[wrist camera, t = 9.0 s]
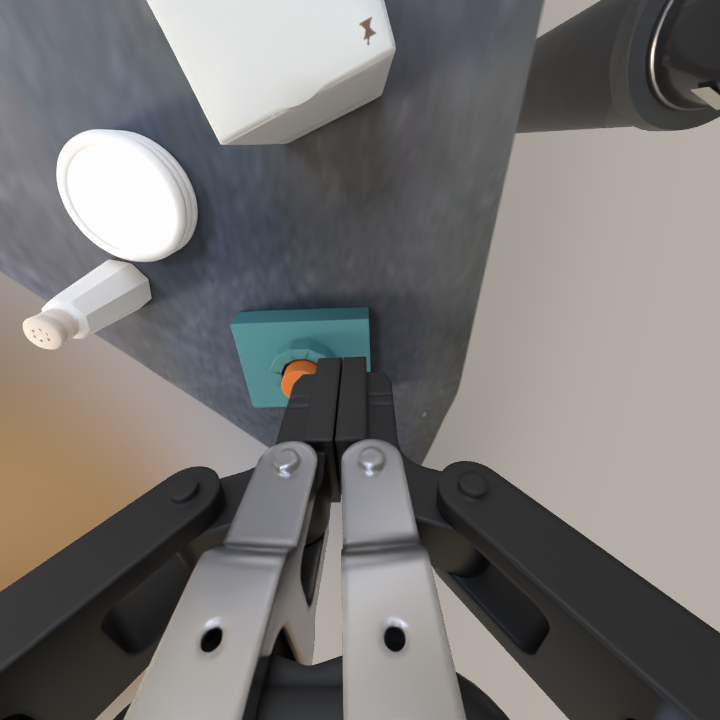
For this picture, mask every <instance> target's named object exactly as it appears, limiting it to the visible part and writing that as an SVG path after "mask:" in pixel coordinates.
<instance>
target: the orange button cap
mask: <svg viewBox="0 0 720 720" xmlns="http://www.w3.org/2000/svg"><path fill="white" fill-rule="evenodd" d="M316 368H317V365H316V364H315V363H313V362H311V361H308V360H297V361H294V362H292V363H290V364H289V365H288V366H287V368H286V370H285V373H284V376H283V379H282V382H281V388H282V391H283V393H284V394H285V395H286V396H287V397H288V398H290V394H291V390H292V387H293V384H294V383H295V382H296V381H297V380H298V379H299V378H300V377H301V376H302V375H303V374H315V373H316Z"/></svg>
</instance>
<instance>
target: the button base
mask: <svg viewBox="0 0 720 720" xmlns="http://www.w3.org/2000/svg"><path fill="white" fill-rule="evenodd" d="M230 325H231V329H232V332H233V336H234V339H235V343H236V347H237V350H238V354H239V357H240V361H241V365H242V368H243V372H244V376H245V379H246V383H247V386H248V390H249V394H250V397H251V401H252V404H253V407H286V406H287V404H288V401H289V398H288V397H287V396H286V395H285V394H284V393H283V391H282V388H281V382H282V379H283V376H284V373H285V370H286V368H287V366H288V365H289V364H290V363H292V362H294V361H297V360H308V361H311V362H313V363H315V364H316V365H317V364H318V359H319V358H338V357H342V360H343V358H344V357H364V356H366V361H367V372H371V367H370V336H369V308H368V307H351V308H325V309H299V310H272V311H246V312H239V313H238V314H237V315H236V317H235V318H234V320H233V321H232V322H231V324H230Z"/></svg>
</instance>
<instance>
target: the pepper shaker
mask: <svg viewBox="0 0 720 720" xmlns="http://www.w3.org/2000/svg"><path fill="white" fill-rule="evenodd" d="M151 299H152V297H151V291H150V285H149V279H148V278H147V277H145V276H144V275H143V274H142V273H141V272H140V271H139V270H138V269H137V268H136V267H135V266H134V265H133V264H132V263H128V262H122V261H116V260H110V259H109V260H107V261H106V262H104V263H103V264H101V265H100V266H99V267H97V268H96V269H94V270H93V271H91V272H90V273H88V274H87V275H85V276H84V277H82V278H81V279H80V280H78V281H77V282H75V283H74V284H72V285H71V286H69V287H68V288H66V289H65V290H64V291H62V292H61V293H59V294H58V295H56V296H55V297H54V298H53V299H51V300H50V301H49V302H48V303H47V304H46V305H45V306H44V307H43V308H42V312H41V313H39V314H37V315H36V316H33V317H30V318H28V319H26V320H25V321H24V323H23V331H24V333H25V335H26V336H27V338H28V339H29V340H30V341H31V342H33V343H34V344H36V345H37V346H39V347H42V348H45V349H58V348H60V347H61V346H62V345H64V343H65V342H67V341H69V340H70V339H71V338H76V339H82V338H85V337H87V336H89V335H91V334H93V333H95V332H97V331H98V330H100V329H102V328H104V327H106V326H108V325H110V324H112V323H114V322H116V321H117V320H119V319H121V318H123V317H125V316H127V315H129V314H131V313H133V312H135V311H137V310H138V309H140V308H141V307H142V306H144V305H145V304H146V303H147V302H148V301H149V300H151Z"/></svg>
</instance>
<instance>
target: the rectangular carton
mask: <svg viewBox="0 0 720 720" xmlns="http://www.w3.org/2000/svg"><path fill="white" fill-rule="evenodd" d="M147 2H148V4H149V6H150V7H151V9H152V11H153V13H154V15H155V17H156V19H157V21H158V23H159V24H160V26H161V28H162V30H163V32H164V34H165V36H166V38H167V40H168V42H169V44H170V46H171V48H172V49H173V51H174V53H175V55H176V57H177V59H178V61H179V63H180V65H181V67H182V69H183V71H184V73H185V75H186V77H187V79H188V81H189V83H190V85H191V87H192V89H193V91H194V93H195V95H196V97H197V99H198V101H199V103H200V105H201V107H202V109H203V111H204V113H205V115H206V117H207V119H208V121H209V123H210V125H211V126H212V128H213V130H214V132H215V134H216V136H217V138H218V140H219V142H220V143H221V145H252V144H287V143H290V142H292V141H294V140H296V139H298V138H300V137H302V136H304V135H306V134H308V133H310V132H312V131H313V130H315V129H317V128H319V127H321V126H323V125H325V124H327V123H329V122H331V121H333V120H335V119H337V118H339V117H341V116H343V115H345V114H347V113H349V112H351V111H353V110H355V109H357V108H359V107H361V106H363V105H365V104H366V103H368V102H370V101H372V100H374V99H376V98H378V97H380V96H381V95H382V93H383V89H384V86H385V83H386V79H387V76H388V73H389V70H390V66H391V63H392V60H393V57H394V54H395V51H396V45H395V41H394V37H393V33H392V29H391V25H390V21H389V18H388V14H387V10H386V6H385V2H384V0H147Z"/></svg>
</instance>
